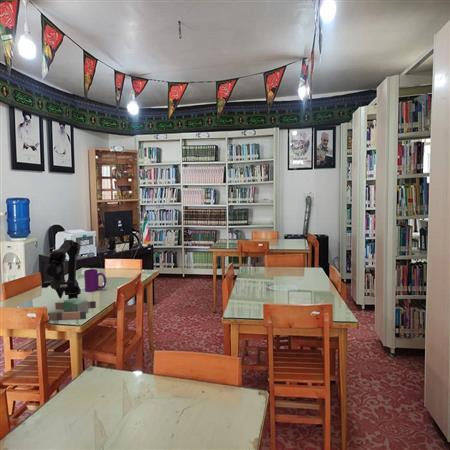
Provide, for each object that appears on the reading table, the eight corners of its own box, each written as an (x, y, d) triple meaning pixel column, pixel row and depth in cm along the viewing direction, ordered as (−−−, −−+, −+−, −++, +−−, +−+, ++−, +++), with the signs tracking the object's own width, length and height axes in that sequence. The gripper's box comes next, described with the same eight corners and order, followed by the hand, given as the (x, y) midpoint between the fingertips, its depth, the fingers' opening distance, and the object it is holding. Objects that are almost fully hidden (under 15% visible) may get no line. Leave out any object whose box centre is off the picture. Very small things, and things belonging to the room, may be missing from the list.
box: (74, 308, 219) (73, 297, 218) (88, 312, 212) (88, 300, 211) (63, 312, 213) (62, 300, 212) (78, 316, 206) (77, 303, 205)
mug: (88, 288, 264) (87, 269, 263) (108, 288, 264) (107, 268, 263) (83, 292, 255) (82, 271, 254) (104, 292, 255) (103, 271, 254)
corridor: (56, 308, 219) (55, 302, 219) (95, 307, 221) (95, 301, 220) (42, 320, 199) (41, 313, 199) (85, 318, 201) (85, 312, 201)
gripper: (36, 276, 198) (38, 303, 200) (70, 274, 200) (72, 301, 201) (44, 271, 209) (46, 297, 211) (77, 270, 211) (78, 296, 212)
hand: (60, 298), depth 209 cm, fingers closed
